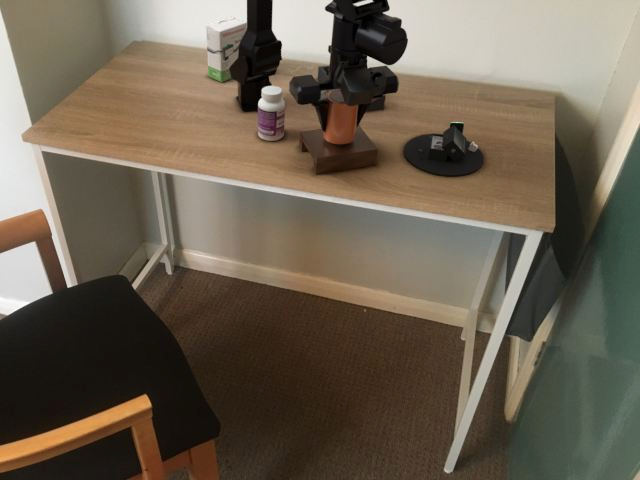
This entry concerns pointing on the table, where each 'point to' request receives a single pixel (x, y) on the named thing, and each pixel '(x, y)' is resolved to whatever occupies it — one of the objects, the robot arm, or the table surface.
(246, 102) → the robot arm
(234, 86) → the table surface
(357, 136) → the brown wooden riser
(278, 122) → the pill bottle
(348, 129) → the cup
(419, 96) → the table surface
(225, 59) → the ink box
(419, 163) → the black round base
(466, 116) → the table surface
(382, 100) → the tray
